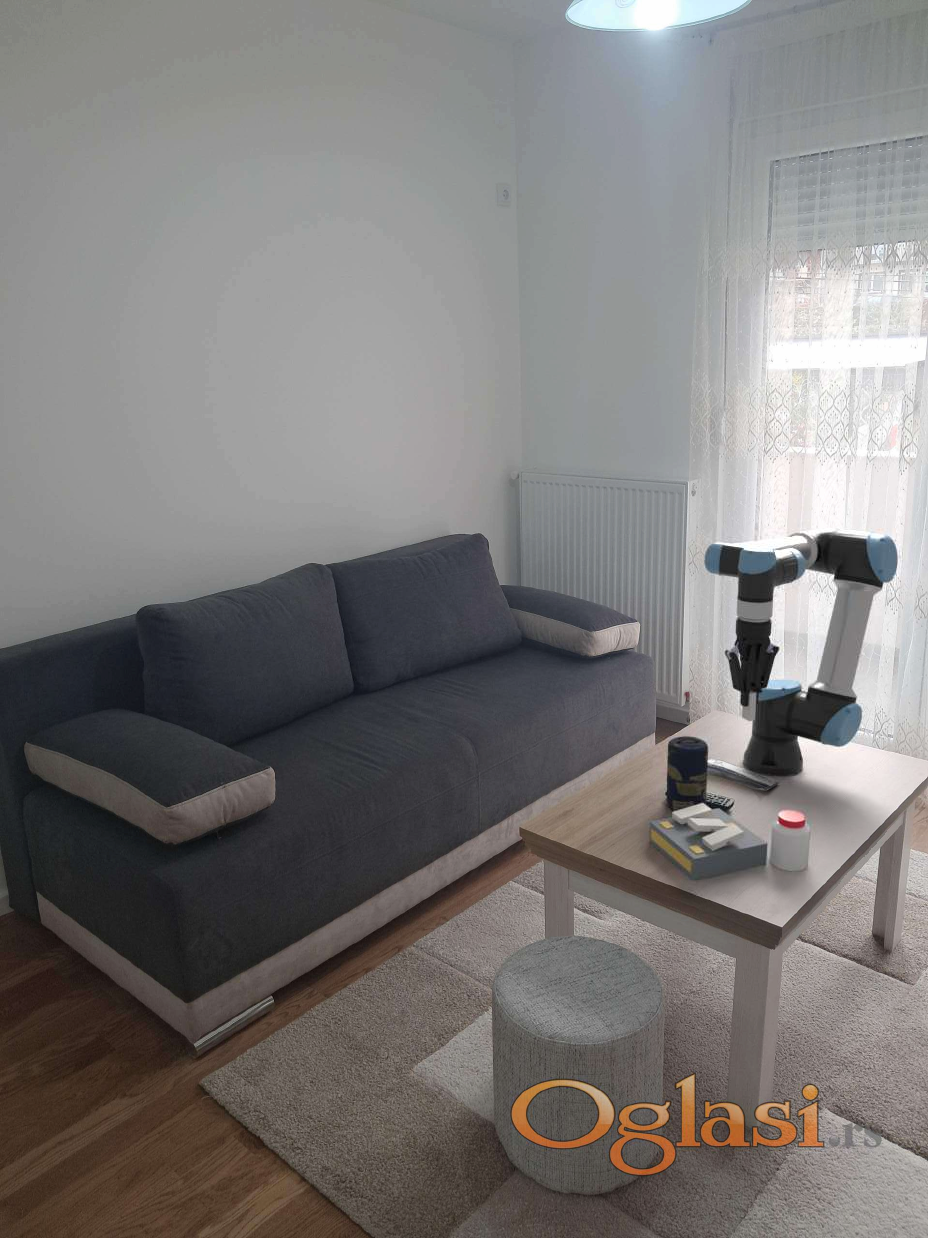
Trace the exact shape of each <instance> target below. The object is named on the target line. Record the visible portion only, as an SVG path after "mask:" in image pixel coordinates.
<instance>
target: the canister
mask: <svg viewBox="0 0 928 1238" xmlns="http://www.w3.org/2000/svg"><path fill="white" fill-rule="evenodd" d="M666 763H667V765H666V768H667V769H666V801H665V802H666V804H667V806H668V807H669V808H670V809H671V810H673V811H678V810H681V809H684V808H687V807H691V806H694V805H697V804H701V803H704V804H705V805H707V789H708V788H707V787H708V785H707V784H708V767H709V766H708V765H709V764H708V763H709V746H708V743H707V742H706V741H705V740H703V739H701V738H699V737H697V736H696V737H695V736H686V735H684V736H677V737H673V738H672V739H671V740H669V741H668V744H667V762H666Z"/></svg>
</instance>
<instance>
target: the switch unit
mask: <svg viewBox="0 0 928 1238" xmlns="http://www.w3.org/2000/svg"><path fill="white" fill-rule="evenodd" d="M711 809H712V815H711V816H707V817H704V818H702V819H720V820H721V821H723V822H724V823H725V824H727V825H728V826H731V825H733V824H734V825H735V826H737V827H738V828H740V829H741V830H742V831H744V838H741V839H739V840H737V841H734V842H732V843H731V845H730V846H728V845H725V846H723V847H721V848H718V849H716V850H714V851H712V850H711V849H709V848H708V847H707V846H706V845H704V844H703V841H702V837H705V836H707V835H709V834H712V833H711V832H706V831H696V830H694V829H693V828H692V827H690V826H689V825H688V824H687V823H685V824H682V825H681V824H680V823H679V822H677V821H676V820H675V819H673V818H672V816H671V817H666V818H663V819H661V818H660V819H657V820H656V819H655V820H651V821H650V822H649V843H650V844H651V845H652V846H654V848H656V849H657V850H658V851H659V852H660V853H661V854H663V856H665V857H666V858H667V859H668V860H669V861H670V862H672V863H673V864H674V865H675V866H676V867H677V868H678V869H680V870H681V871H682V872H683V873H684V874H685V875H686V876H688V877H689V878H690V879H691V880H692V881H698V880H702V879H706V878H707V879H708V878H711V877H716V876H721V875H725V874H729V873H734V872H737V871H744V870H747V869H752V868H756V867H760V866H765V865H767V860H768V859H767V857H768V845H769V843H768V842H767V841H765V840H764V839H762V838H761V837H760V836H758V835H757V834H756V833H754V832H753V831H752V830H750V829H749V828H747V827H746V826H744V825H743V824H742V823H740V822H738V821H737V820H736V819H735V818H733V817H732V816H731V815H729V814H728V813H726V812H725V811H723V810H722V809H721V808H719V807H718V808H711Z"/></svg>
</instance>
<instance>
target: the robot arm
mask: <svg viewBox="0 0 928 1238" xmlns="http://www.w3.org/2000/svg"><path fill="white" fill-rule="evenodd" d="M898 559H899V557H898V548H897V546H896V544H895V541H894V540H893V539H892V537H890V536H889V535H886V534H882V533H879V532H878V533H876V532H872V531H861V530H860V531H859V530H850V529H839V528H821V529H820V528H819V529H814V530H807V531H800V532H799V531H798V532H794V533H792V534H790V535H789V536H788V537H781V538H772V539H765V540H759V541H758V540H756V541H747V542H742V543H741V542H740V543H726V542H713V543H711V544H710V545H709V546H708V547H707V549H706V551H705V553H704V560H703V561H704V563H703V564H704V566H705V570H706V571H707V572H708V573H711V574H713V575H717V576H720V577H721V576H725V577H731V578H736V579H737V578H738V581H737V597H736V598H737V599H736V600H737V601H736V616H737V618H736V619H735V635H736V638H735V641H734V644H733V647H732V648H731V649H725V651H724V655H725V657H726V658H727V660H728V666H729V671H730V672H729V673H730V679H731V682H732V688H733V689H734V690H736V691H737V692H740V698H739V699H740V701H739V703H740V706H742V707H741V708H742V709H741V710H742V711H741V713H742V714H741V718H742V719H744V720H745V721H747V722H752V723H751V724H752V725H751V735H750V736H751V737H750V738H749V742H748V745H747V748H746V749H745V751H744V753H743V760H742V761H743V765H744V766H745V767H746V768H747V769H749V770H750V771H753V772H755V773H757V774H762V775H766V776H775V777H787V776H793V775H796V774H799V773H800V772H802V771H803V768H804V767H803V766H804V758H803V755H802V751H801V747H800V744H799V738H803V739H806V740H810V741H813V742H817V743H821V744H822V745H825V746H826V745H827V746H828V745H829V746H832V747H836V748H839V747H841V748H842V747H844V746H846V745H848V744H849V743H850V742H851V741H852V740H853V739H854V737H856V734H857V732H858V731H859V728H860V726H861V724H862V720H863V714H862V713H863V708H862V706H860V704H858V703H856V702H857V698H858V696H857V695H856V692H855V691H854V689H853V686H854V681H855V677H856V675H857V674H856V673H857V669H858V664H859V661H860V657H861V651H862V648H863V643H864V639H865V635H866V630H867V627H868V622H869V618H870V613H871V609H872V605H873V601H874V596H875V595H876V594H878V593H880V592H881V591H882V590H883V587H884V586H883V585H884V583H885V584H886V583H891V581H892V580H893V579H894V576H896V573H897V570H898V562H899V560H898ZM806 570H808V571H814V572H819V573H824V574H827V575H834V576H833V580H832V582H833V583H834V584H835V586H836V588H837V590H836V595H835V600H834V603H833V608H832V613H831V616H830V617H831V618H830V621H829V625H828V629H827V634H826V638H825V642H824V647H823V651H822V655H821V660H820V665H819V668H818V672H817V673H818V674H817V677H816V680H815V681H814V682H813V683H811V684H808V688H807V691H804V690H803V686H802V684H801V682H799V681H798V680H792V679H771V680H770V677H771V673H772V669H773V665H774V662H775V658H776V656H777V655H778V654H779V653H778V652H779V651H780V647H779V646H778V645H775V644H773V643H771V639H770V637H771V635H772V623H773V622H772V619H771V618H772V617H773V611H774V610H773V607H774V593H775V592H774V590H775V588H776V587H779V586H782V585H786V584H792V583H793V582H795V581H796V580H799V579H800V578H801V577H803V575H804V574H805V572H806Z"/></svg>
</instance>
